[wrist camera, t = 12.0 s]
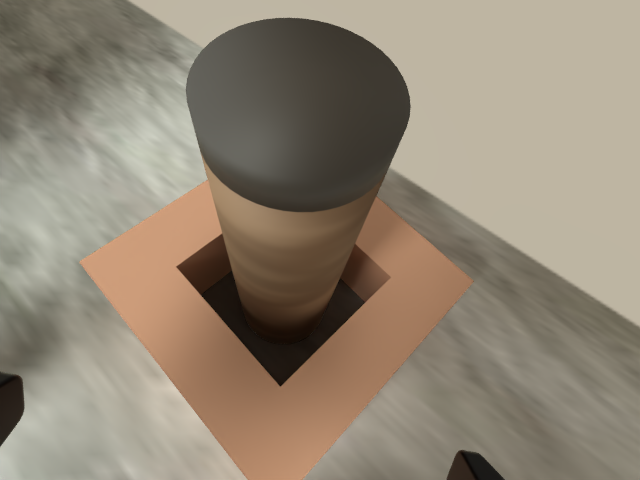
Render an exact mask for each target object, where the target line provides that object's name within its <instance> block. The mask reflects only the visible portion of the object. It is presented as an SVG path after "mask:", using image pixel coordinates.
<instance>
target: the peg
mask: <svg viewBox="0 0 640 480" xmlns="http://www.w3.org/2000/svg"><path fill="white" fill-rule="evenodd" d="M186 95H187V103H188V107H189V111H190V114H191V118H192V122H193V125H194V129H195V133H196V137H197V140H198V144H199V148H200V152H201V155H202V159H203V163H204V167H205V170H206V174H207V178H208V182H209V185H210V189H211V193H212V197H213V200H214V204H215V208H216V212H217V215H218V219H219V223H220V226H221V230H222V234H223V238H224V241H225V245H226V249H227V253H228V256H229V260H230V264H231V268H232V271H233V275H234V279H235V283H236V286H237V290H238V294H239V298H240V301H241V305H242V309H243V312H244V316H245V319H246V321H247V323H248V325H249V327H250V328H251V329H252V331H253V332H254V333H255V334H257V335H258V336H259V337H261V338H262V339H264V340H266V341H268V342H271V343H275V344H291V343H295V342H298V341H301V340H303V339H305V338H306V337H308V336H309V335H310V334H311V333H313V332H314V330H315V329H316V328H317V327H318V325H319V324H320V322H321V319H322V317H323V315H324V313H325V310H326V308H327V306H328V304H329V301H330V299H331V297H332V295H333V292H334V290H335V288H336V286H337V283H338V281H339V279H340V277H341V274H342V272H343V270H344V268H345V265H346V263H347V261H348V258H349V256H350V254H351V252H352V249H353V247H354V245H355V243H356V240H357V238H358V236H359V234H360V231H361V229H362V227H363V225H364V222H365V220H366V218H367V216H368V213H369V211H370V209H371V206H372V204H373V202H374V200H375V197H376V195H377V193H378V191H379V188H380V186H381V184H382V182H383V179H384V177H385V175H386V173H387V170H388V168H389V166H390V163H391V161H392V159H393V157H394V154H395V152H396V150H397V148H398V145H399V143H400V141H401V139H402V136H403V134H404V132H405V130H406V127H407V124H408V120H409V117H410V96H409V93H408V89H407V86H406V83H405V81H404V79H403V77H402V75H401V73H400V72H399V70H398V68H397V67H396V66H395V65H394V63H393V62H392V61H391V60H390V59H389V58H388V57H387V56H386V55H385V54H384V53H383V52H382V51H381V50H380V49H379V48H377V47H376V46H375V45H373V44H372V43H371V42H369V41H367V40H366V39H364V38H363V37H361V36H359V35H357V34H355V33H353V32H351V31H348V30H346V29H344V28H341V27H338V26H335V25H331V24H329V23H324V22H320V21H315V20H309V19H300V18H275V19H266V20H260V21H256V22H251V23H248V24H244V25H241V26H238V27H236V28H234V29H232V30H229V31H227V32H225V33H224V34H222V35H220V36H219V37H217V38H216V39H214V40H213V41H212V42H210V43H209V44H208V45H207V46H206V47H205V48H204V49H203V50H202V51H201V52H200V54H199V55H198V56H197V58H196V59H195V61H194V63H193V65H192V67H191V69H190V72H189V75H188V78H187V86H186Z"/></svg>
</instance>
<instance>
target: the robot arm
mask: <svg viewBox="0 0 640 480" xmlns="http://www.w3.org/2000/svg"><path fill="white" fill-rule="evenodd" d="M23 412H24V392H23V381H22V378H21V377H20V376H19V375H16V374H10V373H5V372H0V446H1V445H2V444H3V442H4V441H5V440H6V438H7V437H8V436H9V434H10V433H11V432H12V430H13V429H14V428H15V426H16V425H17V423H18V422H19V421H20V419H21V417H22V415H23ZM447 480H505V479H504V478H503V477H502V476H501V475H500V474H499V473H498V472H497V471H496V470H495V469H494V468H493V467H492V466H491V465H490V464H489V463H488V462H487V461H486V460H485V458H484V457H483V456H481V455H480V454H479V453H476V452H471V451H465V450H460V451H458V452H457V454H456V456H455V458H454V461H453V463H452V466H451V469H450V471H449V474H448V476H447Z"/></svg>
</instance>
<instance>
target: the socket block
mask: <svg viewBox="0 0 640 480" xmlns="http://www.w3.org/2000/svg"><path fill="white" fill-rule="evenodd" d="M79 263H80V264H81V265H82V266H83V268H84V269H85V270H86V272H87V273H88V274H89V275H90V277H91V278H92V279H93V281H94V282H95V283H96V284H97V286H98V287H99V288H100V290H101V291H102V292H103V294H104V295H105V296H106V297H107V299H108V300H109V301H110V303H111V304H112V305H113V306H114V308H115V309H116V310H117V312H118V313H119V314H120V315H121V317H122V318H123V319H124V321H125V322H126V323H127V324H128V326H129V327H130V328H131V330H132V331H133V332H134V334H135V335H136V336H137V337H138V339H139V340H140V341H141V343H142V344H143V345H144V346H145V348H146V349H147V350H148V352H149V353H150V354H151V355H152V357H153V358H154V359H155V361H156V362H157V363H158V365H159V366H160V367H161V368H162V370H163V371H164V372H165V374H166V375H167V376H168V377H169V379H170V380H171V381H172V383H173V384H174V385H175V386H176V388H177V389H178V390H179V392H180V393H181V394H182V395H183V397H184V398H185V399H186V401H187V402H188V403H189V405H190V406H191V407H192V408H193V410H194V411H195V412H196V414H197V415H198V416H199V417H200V419H201V420H202V421H203V423H204V424H205V425H206V426H207V428H208V429H209V430H210V432H211V433H212V434H213V435H214V437H215V438H216V439H217V441H218V442H219V443H220V445H221V446H222V447H223V448H224V450H225V451H226V452H227V454H228V455H229V456H230V457H231V459H232V460H233V461H234V463H235V464H236V465H237V466H238V468H239V469H240V470H241V472H242V473H243V474H244V476H245V477H246V478H247V479H248V480H302V479H303V478H304V477H305V476H306V475H307V474H308V473H309V471H310V470H311V469H312V468H313V467H314V466H315V464H316V463H317V462H318V461H319V460H320V459H321V458H322V456H323V455H324V454H325V453H326V452H327V451H328V449H329V448H330V447H331V446H332V445H333V444H334V442H335V441H336V440H337V439H338V438H339V437H340V436H341V434H342V433H343V432H344V431H345V430H346V429H347V427H348V426H349V425H350V424H351V423H352V422H353V421H354V419H355V418H356V417H357V416H358V415H359V414H360V412H361V411H362V410H363V409H364V408H365V407H366V406H367V404H368V403H369V402H370V401H371V400H372V399H373V397H374V396H375V395H376V394H377V393H378V392H379V390H380V389H381V388H382V387H383V386H384V385H385V384H386V382H387V381H388V380H389V379H390V378H391V377H392V375H393V374H394V373H395V372H396V371H397V370H398V369H399V367H400V366H401V365H402V364H403V363H404V362H405V360H406V359H407V358H408V357H409V356H410V355H411V354H412V352H413V351H414V350H415V349H416V348H417V347H418V345H419V344H420V343H421V342H422V341H423V340H424V338H425V337H426V336H427V335H428V334H429V333H430V332H431V330H432V329H433V328H434V327H435V326H436V325H437V323H438V322H439V321H440V320H441V319H442V318H443V317H444V315H445V314H446V313H447V312H448V311H449V310H450V308H451V307H452V306H453V305H454V304H455V303H456V302H457V300H458V299H459V298H460V297H461V296H462V295H463V293H464V292H465V291H466V290H467V289H468V288H469V286H470V285H471V284H472V283H473V282H474V281H473V280H472V279H471V278H470V277H469V276H467V275H466V274H465V273H464V272H463V271H462V270H461V269H459V268H458V267H457V266H456V265H455V264H454V263H453V262H451V261H450V260H449V259H448V258H447V257H446V256H445V255H443V254H442V253H441V252H440V251H439V250H438V249H436V248H435V247H434V246H433V245H432V244H431V243H430V242H428V241H427V240H426V239H425V238H424V237H423V236H422V235H420V234H419V233H418V232H417V231H416V230H415V229H414V228H412V227H411V226H410V225H409V224H408V223H407V222H406V221H404V220H403V219H402V218H401V217H400V216H399V215H397V214H396V213H395V212H394V211H393V210H392V209H391V208H389V207H388V206H387V205H386V204H385V203H384V202H383V201H381V200H380V199H379V198H378V197H377V196H376V197H375V200H374V202H373V204H372V206H371V209H370V211H369V213H368V216H367V218H366V220H365V222H364V225H363V227H362V229H361V231H360V234H359V236H358V238H357V240H356V243H355V245H354V247H353V249H352V252H351V254H350V256H349V258H348V261H347V263H346V265H345V268H344V270H343V272H342V274H341V277H340V278H341V279H342V280H343V281H344V282H345V283H346V284H347V285H348V286H349V287H350V288H351V289H352V290H353V291H354V292H355V293H356V294H357V295H358V296H359V297H360V298H361V299H362V300H363V301H364V302H365V303H364V304H363V305H362V306H361V307H360V308H359V309H358V310H357V311H356V312H355V313H354V314H353V315H352V316H351V317H350V318H349V319H348V320H347V321H346V322H345V323H344V324H343V325H342V326H341V327H340V328H339V329H338V330H337V331H336V332H335V333H334V334H333V335H332V336H331V337H330V338H329V339H328V340H327V341H326V342H325V343H324V344H323V345H322V346H321V347H320V348H319V349H318V350H317V351H316V352H315V353H314V354H313V355H312V356H311V357H310V358H309V359H308V360H307V361H306V362H305V363H304V364H303V365H302V366H301V367H300V368H299V369H298V370H297V371H296V372H295V373H294V374H293V375H292V376H291V377H290V378H289V379H288V380H287V381H286V382H285V383H284V384H283V385H282V386H281V387H280V386H279V385H278V384H277V383H276V381H275V380H274V379H273V378H272V377H271V376H270V375H269V373H268V372H267V371H266V370H265V369H264V368H263V366H262V365H261V364H260V363H259V362H258V361H257V360H256V358H255V357H254V356H253V355H252V354H251V353H250V351H249V350H248V349H247V348H246V347H245V346H244V345H243V343H242V342H241V341H240V340H239V339H238V338H237V336H236V335H235V334H234V333H233V332H232V331H231V330H230V328H229V327H228V326H227V325H226V324H225V323H224V321H223V320H222V319H221V318H220V317H219V316H218V315H217V313H216V312H215V311H214V310H213V309H212V308H211V307H210V305H209V304H208V303H207V302H206V301H205V300H204V298H203V297H202V296H201V294H202V293H203V292H205V291H206V290H207V289H209V288H210V287H211V286H212V285H214V284H215V283H216V282H218V281H219V280H220V279H221V278H223V277H224V276H225V275H227V274H228V273H229V272H231V271H232V268H231V264H230V260H229V256H228V253H227V249H226V245H225V241H224V238H223V234H222V230H221V226H220V223H219V219H218V215H217V212H216V208H215V204H214V200H213V197H212V193H211V189H210V185H209V182H208V180H207V181H205V182H203V183H202V184H200V185H199V186H197V187H196V188H194V189H192V190H191V191H189V192H188V193H186V194H185V195H183V196H181V197H180V198H178V199H177V200H175V201H174V202H172V203H170V204H169V205H167V206H166V207H164V208H163V209H161V210H160V211H158V212H156V213H155V214H153V215H152V216H150V217H149V218H147V219H145V220H144V221H142V222H141V223H139V224H138V225H136V226H134V227H133V228H131V229H130V230H128V231H127V232H125V233H123V234H122V235H120V236H119V237H117V238H116V239H114V240H112V241H111V242H109V243H108V244H106V245H105V246H103V247H101V248H100V249H98V250H97V251H95V252H94V253H92V254H91V255H89V256H87V257H86V258H84V259H83V260H81V261H80V262H79Z"/></svg>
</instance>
